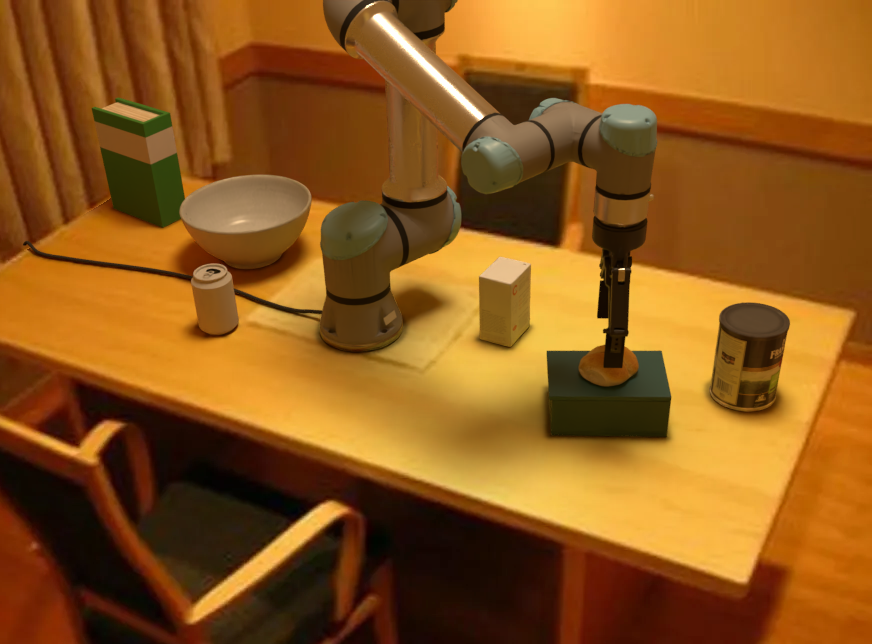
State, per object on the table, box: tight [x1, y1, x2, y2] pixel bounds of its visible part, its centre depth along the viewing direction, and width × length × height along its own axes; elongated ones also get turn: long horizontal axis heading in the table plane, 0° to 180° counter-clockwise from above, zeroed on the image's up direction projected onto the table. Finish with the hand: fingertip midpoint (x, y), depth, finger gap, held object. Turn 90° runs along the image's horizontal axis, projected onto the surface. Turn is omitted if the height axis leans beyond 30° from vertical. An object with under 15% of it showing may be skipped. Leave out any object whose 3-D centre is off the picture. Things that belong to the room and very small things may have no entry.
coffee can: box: [709, 302, 791, 412], centre depth 170 cm, size 10×10×14 cm
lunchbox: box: [547, 390, 672, 438], centre depth 170 cm, size 18×13×7 cm
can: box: [190, 262, 240, 336], centre depth 199 cm, size 8×8×12 cm
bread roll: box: [579, 344, 639, 387], centre depth 167 cm, size 8×9×4 cm
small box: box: [478, 256, 532, 348], centre depth 190 cm, size 8×6×13 cm
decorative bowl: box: [179, 174, 313, 270], centre depth 221 cm, size 27×27×12 cm
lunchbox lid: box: [546, 350, 672, 402], centre depth 168 cm, size 18×13×1 cm
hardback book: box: [91, 96, 186, 229], centre depth 238 cm, size 18×7×24 cm, turn 49°
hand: (609, 341), depth 165 cm, fingers open, 13 cm apart
